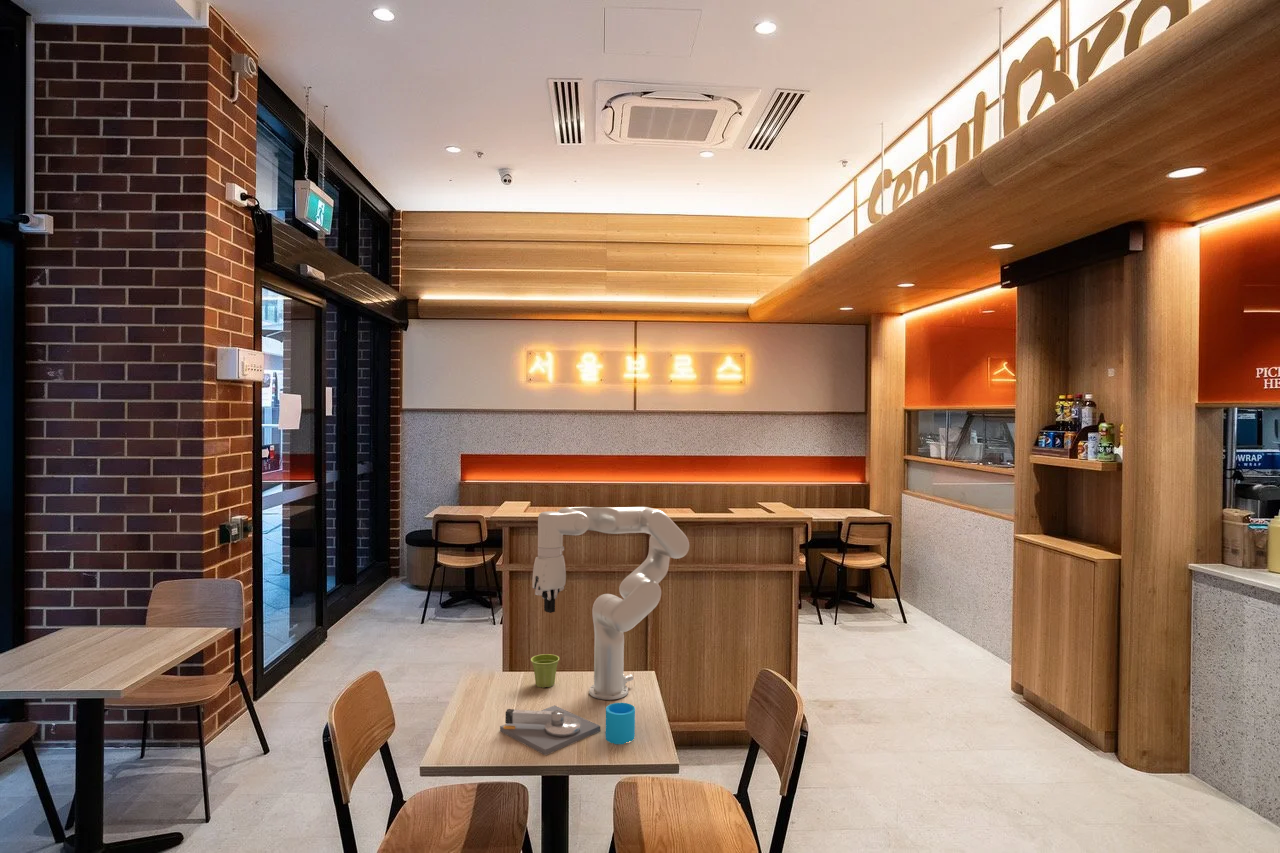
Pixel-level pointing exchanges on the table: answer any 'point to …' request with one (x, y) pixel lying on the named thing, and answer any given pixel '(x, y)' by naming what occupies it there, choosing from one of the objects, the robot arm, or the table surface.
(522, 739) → the stand base
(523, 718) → the lever
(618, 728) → the mug
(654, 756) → the table surface
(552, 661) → the plant pot
